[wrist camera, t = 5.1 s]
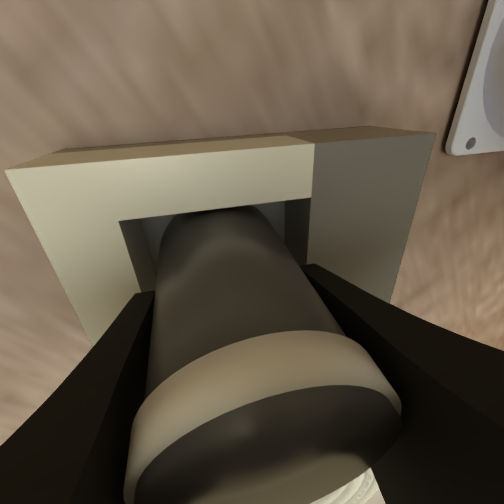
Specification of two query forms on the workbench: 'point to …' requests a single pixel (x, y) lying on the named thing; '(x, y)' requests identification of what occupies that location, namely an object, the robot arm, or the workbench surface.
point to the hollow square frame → (223, 205)
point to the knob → (249, 376)
